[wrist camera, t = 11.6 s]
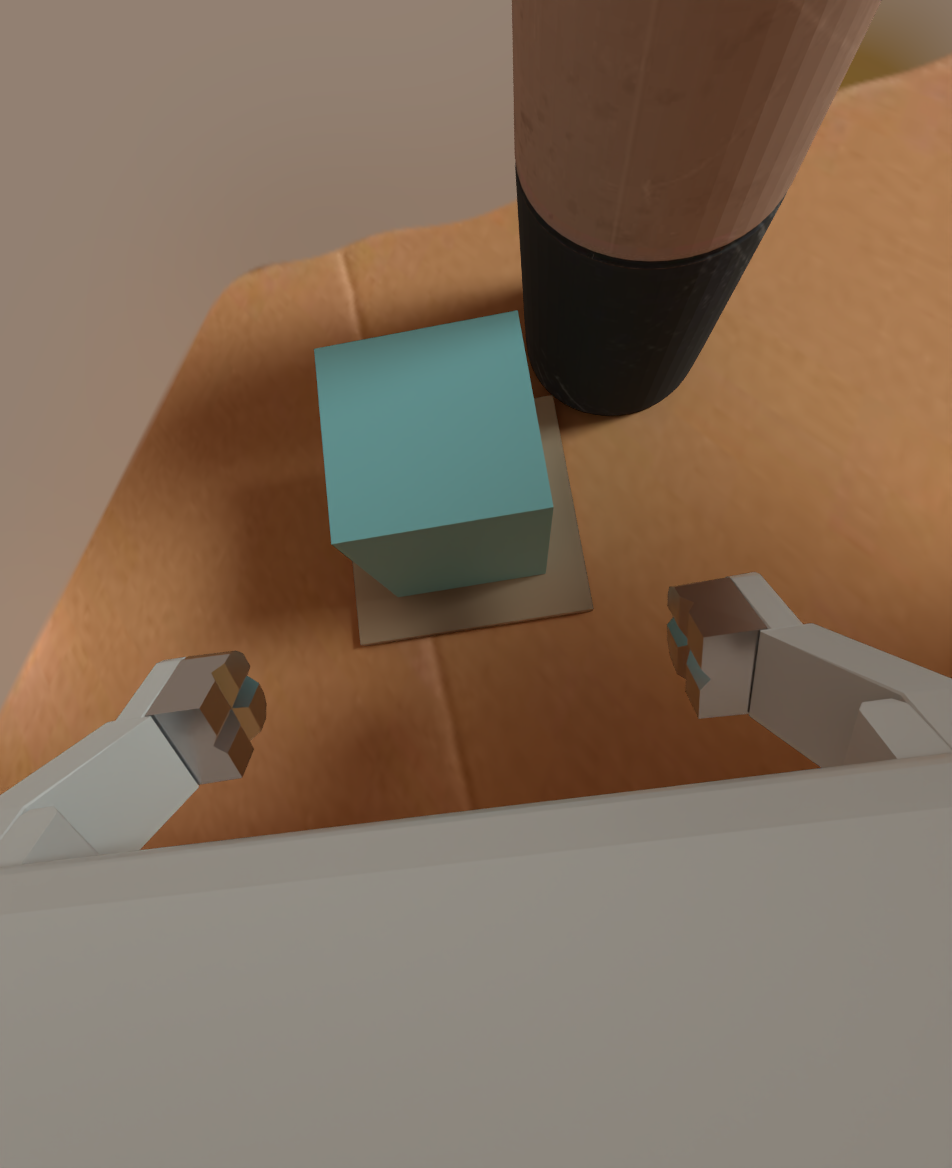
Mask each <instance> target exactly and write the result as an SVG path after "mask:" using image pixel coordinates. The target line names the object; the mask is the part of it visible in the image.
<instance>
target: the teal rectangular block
mask: <svg viewBox="0 0 952 1168" xmlns="http://www.w3.org/2000/svg"><path fill="white" fill-rule="evenodd" d="M314 354H315V365H316V376H317V387H318V399H319V410H320V421H321V433H322V444H323V455H324V467H325V478H326V489H327V501H328V512H329V523H330V535H331V544H332V545H333V546H334V547H335V548H337V549H338V550H339V551H340V552H342V553H343V554H344V555H345V556H347V557H348V558H349V559H351V560H352V561H353V562H354V563H356V564H357V565H358V566H359V567H361V568H362V569H363V570H364V571H366V572H367V573H368V574H369V575H371V576H372V577H373V578H374V579H376V580H377V581H378V582H379V583H381V584H382V585H383V586H384V587H386V588H387V589H388V590H389V591H391V592H392V593H393V594H394V595H396V596H397V597H403V596H409V595H415V594H422V593H428V592H434V591H440V590H447V589H453V588H459V587H466V586H472V585H478V584H484V583H491V582H497V581H503V580H509V579H516V578H522V577H528V576H534V575H541V574H546V567H547V558H548V550H549V541H550V533H551V525H552V516H553V508H554V507H553V501H552V496H551V490H550V485H549V479H548V474H547V468H546V463H545V457H544V452H543V446H542V441H541V435H540V430H539V424H538V419H537V413H536V408H535V402H534V397H533V392H532V386H531V381H530V375H529V370H528V364H527V359H526V353H525V348H524V342H523V337H522V331H521V326H520V320H519V315H518V310H517V311H511V312H506V313H501V314H495V315H490V316H485V317H480V318H474V319H469V320H464V321H459V322H453V323H448V324H443V325H438V326H432V327H427V328H422V329H416V330H411V331H406V332H401V333H395V334H390V335H385V336H380V337H374V338H369V339H364V340H358V341H353V342H348V343H343V344H337V345H332V346H327V347H322V348H316V349H314Z"/></svg>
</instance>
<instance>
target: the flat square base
mask: <svg viewBox="0 0 952 1168" xmlns="http://www.w3.org/2000/svg"><path fill="white" fill-rule="evenodd" d="M534 402H535V408H536V413H537V419H538V424H539V430H540V435H541V441H542V446H543V452H544V457H545V463H546V468H547V474H548V479H549V485H550V490H551V496H552V501H553V507H554V508H553V516H552V525H551V533H550V541H549V550H548V558H547V567H546V574H541V575H534V576H528V577H522V578H516V579H509V580H503V581H497V582H491V583H484V584H478V585H472V586H466V587H459V588H453V589H447V590H440V591H434V592H428V593H422V594H415V595H409V596H403V597H397V596H396V595H394V594H393V593H392V592H391V591H389V590H388V589H387V588H386V587H384V586H383V585H382V584H381V583H379V582H378V581H377V580H376V579H374V578H373V577H372V576H371V575H369V574H368V573H367V572H366V571H364V570H363V569H362V568H361V567H359V566H358V565H357V564H356V563H354V562H353V561H352V562H353V573H354V583H355V593H356V604H357V614H358V625H359V635H360V645H362V646H368V645H375V644H381V643H387V642H394V641H400V640H407V639H413V638H420V637H426V636H433V635H439V634H446V633H452V632H458V631H465V630H471V629H478V628H484V627H491V626H497V625H504V624H510V623H517V622H523V621H529V620H536V619H542V618H549V617H555V616H562V615H568V614H575V613H581V612H588V611H592V610H593V609H594V608H593V603H592V598H591V593H590V588H589V582H588V577H587V572H586V567H585V561H584V556H583V551H582V546H581V540H580V535H579V530H578V525H577V520H576V514H575V509H574V504H573V499H572V493H571V488H570V483H569V478H568V473H567V467H566V462H565V457H564V452H563V446H562V441H561V436H560V431H559V426H558V420H557V415H556V410H555V405H554V399H553V395H550V396H544V397H539V398H534Z"/></svg>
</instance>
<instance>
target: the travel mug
mask: <svg viewBox="0 0 952 1168" xmlns="http://www.w3.org/2000/svg"><path fill="white" fill-rule="evenodd" d="M881 1H882V0H512V24H513V26H512V28H513V78H514V79H513V83H514V136H515V138H514V139H515V159H516V167H515V168H516V186H517V202H518V219H519V235H520V252H521V268H522V284H523V301H524V317H525V330H526V342H527V349H528V356H529V359H530V362H531V365H532V368H533V370H534V372H535V374H536V376H537V377H538V379H539V380H540V382H541V383H542V385H543V386H544V387H545V388H546V389H547V390H548V391H549V392H550V393H551V394H552V395H553V396H554V397H555V398H557V399H558V400H560V401H561V402H563V403H564V404H566V405H568V406H570V407H572V408H574V409H577V410H580V411H583V412H586V413H591V414H595V415H606V416H610V415H624V414H630V413H634V412H638V411H641V410H643V409H646V408H648V407H651V406H652V405H654V404H656V403H658V402H660V401H661V400H663V399H664V398H665V397H667V396H668V395H669V394H671V393H672V392H673V391H674V390H675V389H676V388H677V387H678V386H679V385H680V383H681V382H682V381H683V380H684V378H685V377H686V375H687V374H688V372H689V371H690V369H691V367H692V366H693V364H694V362H695V360H696V359H697V357H698V355H699V353H700V352H701V350H702V348H703V346H704V344H705V343H706V341H707V339H708V337H709V335H710V333H711V332H712V330H713V328H714V326H715V324H716V322H717V321H718V319H719V317H720V315H721V313H722V311H723V310H724V308H725V306H726V304H727V302H728V300H729V298H730V297H731V295H732V293H733V291H734V289H735V287H736V286H737V284H738V282H739V280H740V278H741V276H742V275H743V273H744V271H745V269H746V267H747V265H748V264H749V262H750V260H751V258H752V256H753V254H754V252H755V251H756V249H757V247H758V245H759V243H760V241H761V240H762V238H763V236H764V234H765V232H766V230H767V229H768V227H769V225H770V223H771V221H772V219H773V218H774V216H775V214H776V212H777V210H778V208H779V206H780V205H781V203H782V201H783V199H784V197H785V195H786V193H787V191H788V189H789V187H790V186H791V184H792V182H793V180H794V178H795V176H796V174H797V172H798V170H799V168H800V166H801V164H802V162H803V160H804V158H805V156H806V154H807V152H808V150H809V147H810V145H811V143H812V141H813V139H814V137H815V135H816V133H817V131H818V129H819V127H820V125H821V123H822V121H823V119H824V117H825V115H826V113H827V111H828V109H829V107H830V105H831V103H832V101H833V99H834V97H835V95H836V93H837V91H838V89H839V86H840V84H841V82H842V80H843V78H844V76H845V74H846V72H847V70H848V68H849V66H850V64H851V62H852V60H853V58H854V56H855V54H856V52H857V50H858V48H859V46H860V44H861V42H862V40H863V38H864V36H865V34H866V31H867V30H868V27H869V25H870V23H871V21H872V19H873V17H874V15H875V13H876V11H877V9H878V7H879V5H880V3H881Z"/></svg>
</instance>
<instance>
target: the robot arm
mask: <svg viewBox="0 0 952 1168" xmlns="http://www.w3.org/2000/svg"><path fill="white" fill-rule="evenodd" d="M667 606H668V608H669V609H670V611H671V613H672V615H673V618H672V619H671V621H670V622H669V623H668V624H667V641H668V647H669V653H670V657H671V660H672V663H673V666H674V668H675V670H676V672H677V674H678V675H680V676H681V677H683V678H685V679H686V690H685V692H686V694H687V696H688V698H689V700H690V702H691V704H692V706H693V708H694V710H695V712H696V714H697V717H698V719H701V718H711V717H721V716H731V715H740V714H749V716H750V717H751V718H753V719H754V720H755V721H757V722H758V723H760V724H761V725H762V726H764V727H765V728H767V729H768V730H769V731H771V732H772V733H774V734H775V735H776V736H778V737H779V738H781V739H782V740H783V741H785V742H786V743H788V744H789V745H790V746H792V747H793V748H795V749H796V750H797V751H799V752H800V753H802V754H803V755H804V756H806V757H807V758H809V759H810V760H811V761H813V762H814V763H816V764H817V765H818V766H820V767H821V768H817V769H809V770H801V771H792V772H784V773H776V774H767V775H759V776H751V777H743V778H735V779H727V780H719V781H711V782H703V783H694V784H686V785H678V786H670V787H662V788H654V789H645V790H637V791H628V792H620V793H612V794H603V795H595V796H586V797H578V798H569V799H561V800H552V801H544V802H536V803H527V804H519V805H510V806H502V807H493V808H485V809H477V810H468V811H460V812H452V813H444V814H435V815H427V816H419V817H411V818H403V819H394V820H386V821H378V822H370V823H361V824H353V825H345V826H337V827H328V828H320V829H312V830H304V831H295V832H287V833H279V834H270V835H262V836H254V837H246V838H237V839H229V840H221V841H212V842H204V843H196V844H188V845H179V846H171V847H163V848H154V849H146V850H140V849H141V848H142V847H143V846H144V845H145V844H146V843H147V842H148V841H149V840H150V838H151V837H152V836H153V835H154V834H155V833H156V832H157V831H158V830H159V829H160V828H161V827H162V826H163V825H164V824H165V823H166V821H167V820H168V819H169V818H170V817H171V816H172V815H173V814H174V813H175V812H176V811H177V810H178V809H179V808H180V807H181V806H182V804H183V803H184V802H185V801H186V800H187V799H188V798H189V797H190V796H191V795H192V794H193V793H194V792H195V791H196V790H197V789H198V788H199V786H198V785H200V784H206V783H212V782H219V781H225V780H231V779H238V778H242V777H243V775H244V772H245V770H246V767H247V765H248V763H249V760H250V758H251V755H252V753H253V750H254V748H253V746H252V744H251V742H250V740H252V739H253V738H254V737H255V736H256V735H257V734H258V733H259V732H261V730H262V728H263V725H264V722H265V720H266V706H267V704H266V699H265V695H264V692H263V690H262V688H261V686H260V684H259V683H258V682H256V681H255V680H253V679H251V678H250V677H248V676H247V675H248V672H249V669H250V665H249V663H248V661H247V660H246V658H245V656H244V654H243V653H241V652H238V651H228V652H220V653H212V654H204V655H196V656H188V657H181V658H174V659H168V660H163V661H161V662H159V663H156V665H155V666H154V668H153V669H152V670H151V672H150V673H149V675H148V676H147V677H146V679H145V680H144V682H143V683H142V684H141V686H140V687H139V689H138V690H137V691H136V693H135V694H134V696H133V697H132V698H131V700H130V701H129V703H128V704H127V705H126V707H125V708H124V710H123V711H122V712H121V714H120V715H119V717H118V718H117V719H116V721H112V722H107V723H106V724H104V725H103V726H101V727H100V728H98V729H97V730H95V731H94V732H92V733H91V734H89V735H88V736H87V737H85V738H84V739H82V740H81V741H79V742H78V743H76V744H75V745H73V746H72V747H70V748H69V749H67V750H66V751H65V752H63V753H62V754H60V755H59V756H57V757H56V758H54V759H53V760H51V761H50V762H48V763H47V764H45V765H44V766H43V767H41V768H40V769H38V770H37V771H35V772H34V773H32V774H31V775H29V776H28V777H26V778H25V779H23V780H22V781H21V782H19V783H18V784H16V785H15V786H13V787H12V788H10V789H9V790H7V791H6V792H4V793H3V794H1V795H0V1168H952V679H951V678H949V677H946V676H944V675H941V674H939V673H936V672H934V671H931V670H929V669H926V668H924V667H921V666H919V665H916V664H914V663H911V662H908V661H906V660H903V659H901V658H898V657H896V656H893V655H891V654H888V653H886V652H883V651H881V650H878V649H876V648H873V647H871V646H868V645H866V644H863V643H861V642H858V641H856V640H853V639H851V638H848V637H846V636H843V635H841V634H838V633H836V632H833V631H830V630H828V629H825V628H823V627H820V626H818V625H815V624H813V623H810V624H802V622H801V621H800V620H799V619H798V618H797V617H796V616H795V614H794V613H793V612H792V611H791V610H790V609H789V607H788V606H787V605H786V604H785V603H784V602H783V600H782V599H781V598H780V597H779V596H778V595H777V593H776V592H775V591H774V590H773V589H772V588H771V586H770V585H769V584H768V583H767V582H766V581H765V579H764V578H763V577H762V576H761V575H760V574H759V573H756V572H751V573H745V574H740V575H734V576H729V577H726V578H721V579H715V580H709V581H702V582H696V583H690V584H683V585H677V586H671V587H669V591H668V603H667Z"/></svg>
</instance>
